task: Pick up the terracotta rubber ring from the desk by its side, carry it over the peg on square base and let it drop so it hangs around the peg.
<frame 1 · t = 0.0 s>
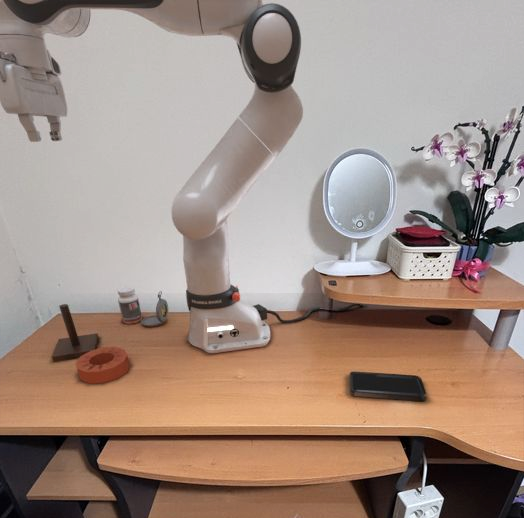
hand: (47, 141, 79), 48 cm above the table, tool pointing down, fingers open, 8 cm apart
phone: (385, 388, 80), on the table
peg on square base: (77, 349, 100), on the table
pill bottle: (132, 320, 115), on the table
pocket watch: (157, 323, 112), on the table
ring: (104, 370, 90), on the table
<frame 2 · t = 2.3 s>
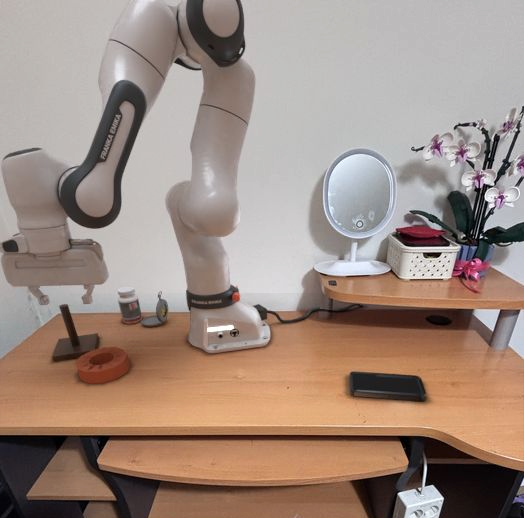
hand: (66, 303, 83), 17 cm above the table, tool pointing down, fingers open, 8 cm apart
nothing on the table moved.
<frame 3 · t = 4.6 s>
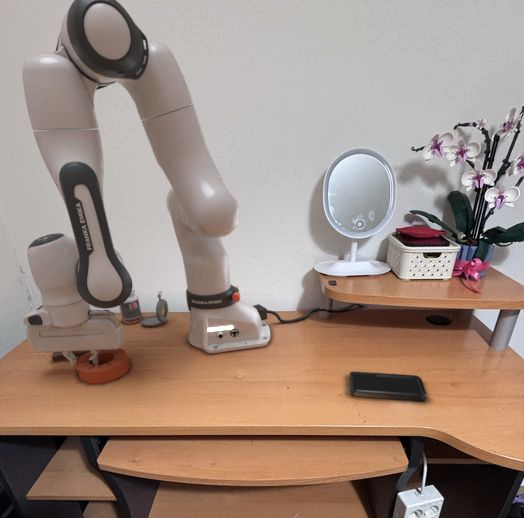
hand: (85, 364, 89), 2 cm above the table, tool pointing down, fingers closed on ring, 3 cm apart
ring: (104, 370, 90), on the table, touching gripper
everything else where it was.
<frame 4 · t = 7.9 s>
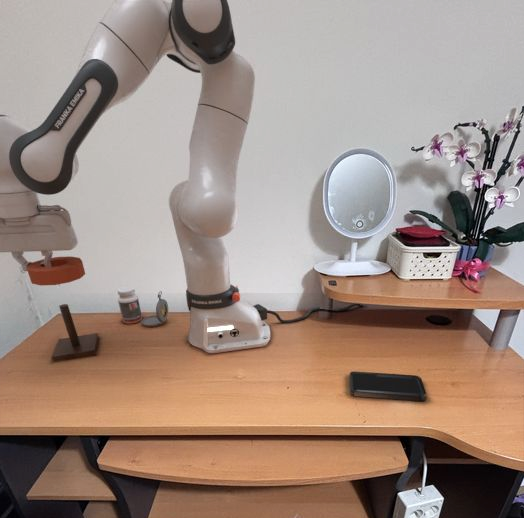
hand: (37, 270, 86), 23 cm above the table, tool pointing down, fingers closed on ring, 3 cm apart
ring: (58, 277, 87), point 21 cm above the table, touching gripper
everything else where it was.
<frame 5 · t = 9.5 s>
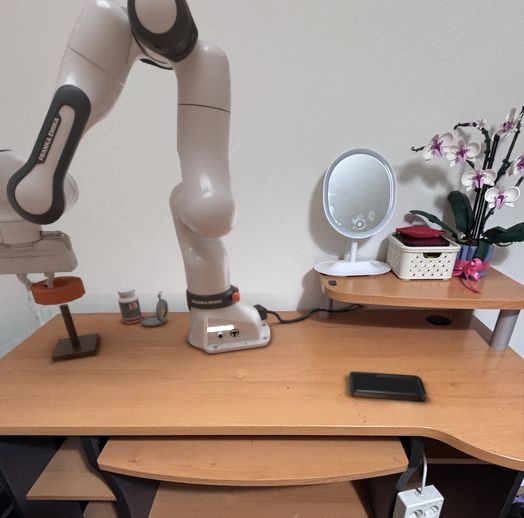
hand: (41, 290, 91), 17 cm above the table, tool pointing down, fingers closed on ring, 3 cm apart
ring: (60, 296, 92), point 15 cm above the table, touching gripper
everything else where it was.
when the fingers open (13 cm above the table, at t = 11.0 s): ring drops 9 cm, resting on peg on square base.
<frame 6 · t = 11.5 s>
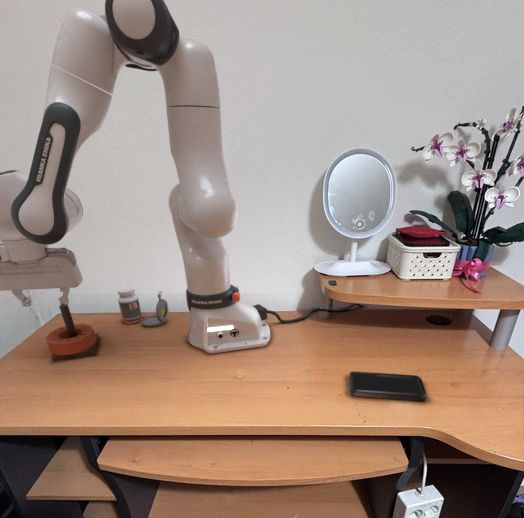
hand: (46, 304, 93), 13 cm above the table, tool pointing down, fingers open, 8 cm apart
ring: (73, 344, 99), point 1 cm above the table, touching peg on square base
everything else where it was.
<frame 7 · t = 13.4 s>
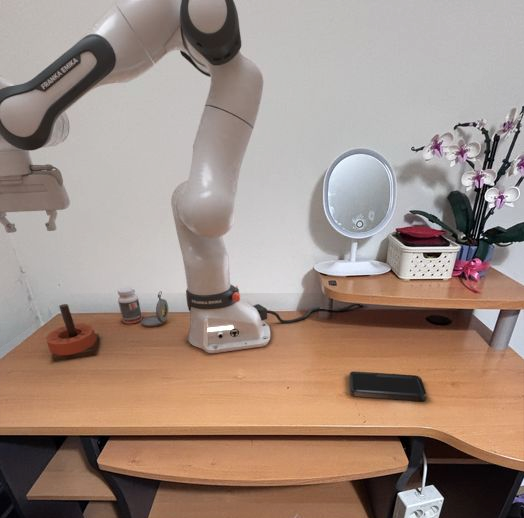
hand: (32, 231, 89), 30 cm above the table, tool pointing down, fingers open, 8 cm apart
nothing on the table moved.
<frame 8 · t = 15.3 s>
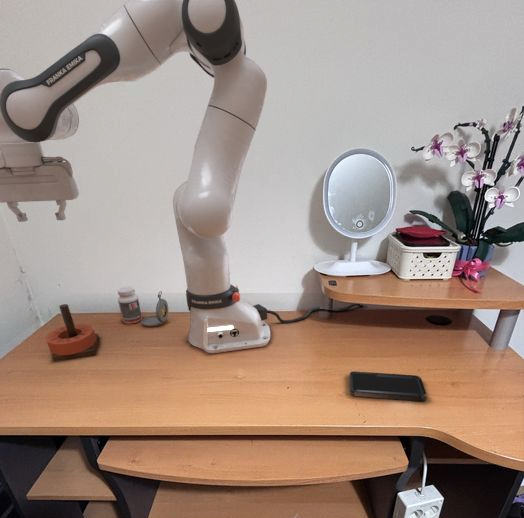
hand: (42, 220, 93), 31 cm above the table, tool pointing down, fingers open, 8 cm apart
nothing on the table moved.
at the end: ring 0.7 cm from the peg on square base (horizontally); ring point 1.5 cm above the table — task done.
